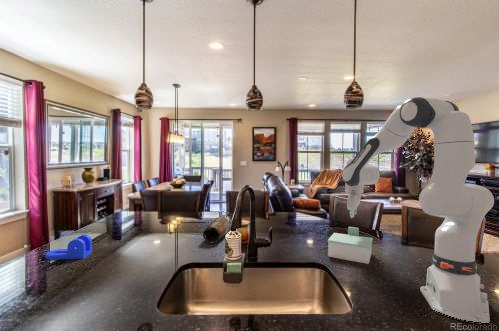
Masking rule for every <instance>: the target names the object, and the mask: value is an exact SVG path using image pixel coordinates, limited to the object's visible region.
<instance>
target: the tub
mask: <svg viewBox="0 0 499 331" xmlns="http://www.w3.org/2000/svg"><path fill="white" fill-rule="evenodd" d="M327 243H328V245H327V246H328V248H327V255H328V256H327V257H329V258H335V259H340V260H346V261H351V262H354V263H355V262H357V263H362V264H367V265H369V264H370V261H371V257H372V254H373V253H372V252H373V251H372V249H373V248H372V247H373V244H371V247H370V249H368V248H361V247H355V246H349V245H342V244H336V243H330V242H328V241H327Z"/></svg>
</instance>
